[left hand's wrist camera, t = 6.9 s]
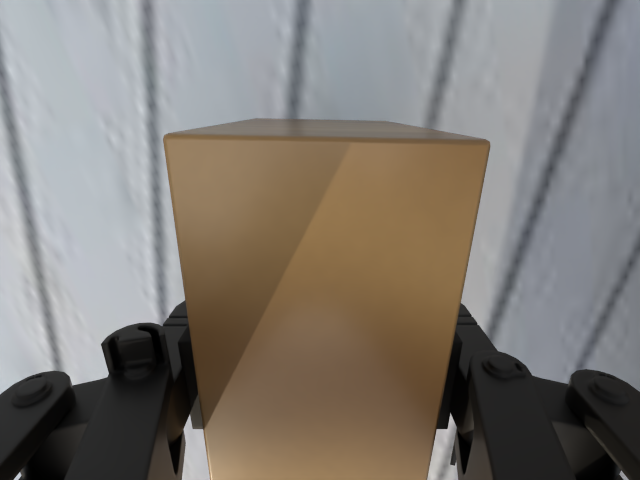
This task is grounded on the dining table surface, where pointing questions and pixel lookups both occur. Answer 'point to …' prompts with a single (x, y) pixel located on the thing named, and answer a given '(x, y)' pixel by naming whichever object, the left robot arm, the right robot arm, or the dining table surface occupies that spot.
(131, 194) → the dining table surface
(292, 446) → the bar
